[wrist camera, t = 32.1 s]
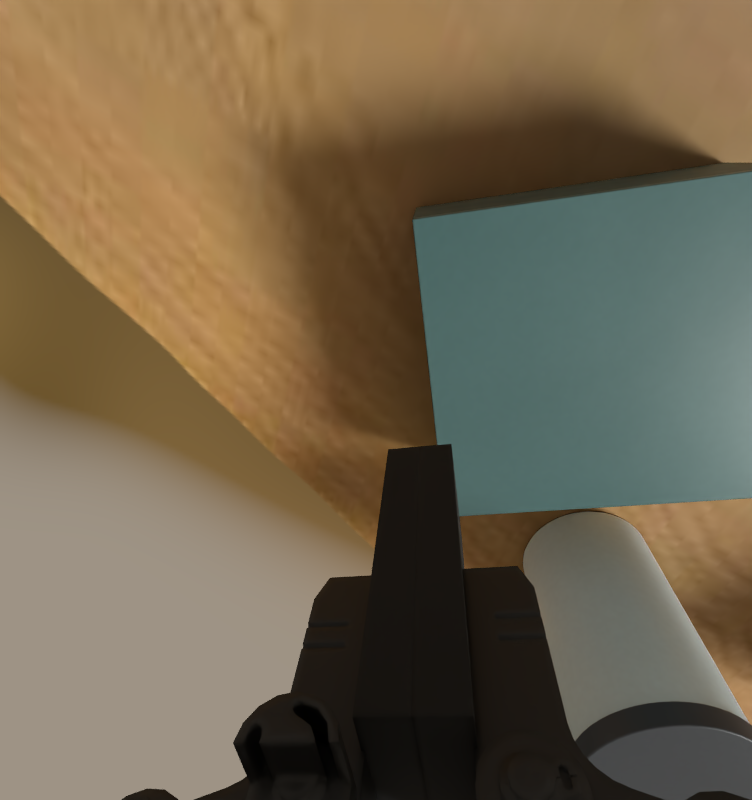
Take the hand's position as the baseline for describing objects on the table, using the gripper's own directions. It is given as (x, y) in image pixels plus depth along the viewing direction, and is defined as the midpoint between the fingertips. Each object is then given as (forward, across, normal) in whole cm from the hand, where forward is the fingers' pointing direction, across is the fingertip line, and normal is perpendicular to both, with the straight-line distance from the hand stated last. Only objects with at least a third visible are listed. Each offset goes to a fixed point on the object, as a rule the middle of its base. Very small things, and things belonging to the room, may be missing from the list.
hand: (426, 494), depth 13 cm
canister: (+21, +9, -22) cm, 32 cm away
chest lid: (+15, +9, -3) cm, 18 cm away
